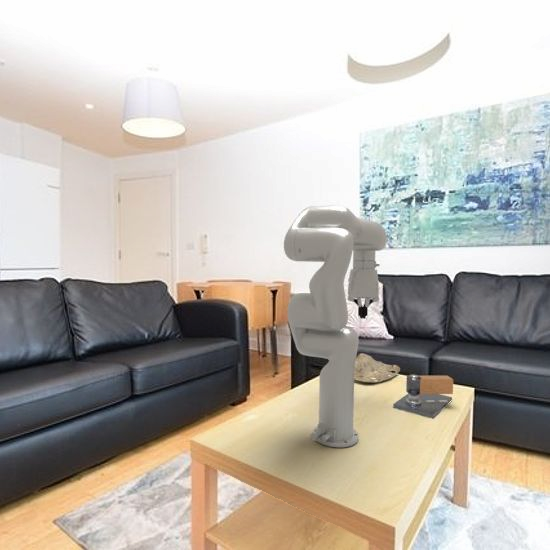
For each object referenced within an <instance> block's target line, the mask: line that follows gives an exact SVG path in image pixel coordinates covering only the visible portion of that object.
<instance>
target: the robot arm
mask: <svg viewBox="0 0 550 550" xmlns="http://www.w3.org/2000/svg"><path fill="white" fill-rule="evenodd" d="M387 239H388V237H387V232H386V230H385V228H384V226H383V225H382V224H381V223H379V222H377V221H374V220H369V219H365V218H361V217H357V216H356V215H355V214H354V213H353V212H352V211H351V210H350V209H349V208H347V207H346V206H344V205H338V204H337V205H336V204H335V205H334V204H332V205H313V206H308V207H306V208H304V209H303V210H302V211H301V212H300V213H299V214H298V216H297V217H296V218H295V219H294V221H293V222H292V224H291V226H290V227H289V229H288V230H287V232H286V234H285V236H284V240H283V251H284V254H285V255H286V257H287V258H288V259H289V260H291V261H293V262H312V263H314V262H315V263H316V262H317V263H319V262H320V263H323V264H322V266H321V267H320V268H318V270H316V272H315V273H314V274H313V275H312V277H311V279H310V280H309V283H308V288H309V292H299V293H295V294H294V295H293V296H292V297H291V298H290V300H289V302H288V305H287V320H288V324H289V325H288V326H289V328H290V331H291V335H292V338H293V341H294V342H293V343H294V344H295V348H296V350H297V351H298V353H299V354H300V355H303V356H307V357H313V358H322V359H327V360H328V362H327V363H326V365H324V366H323V367H322V369H321V370H320V373H319V380H318V381H319V387H318V388H319V390H318V391H319V394H318V395H319V397H318V399H319V400H318V423H317V426H315V427H314V428H313V430H312V433H311V434H310V436H309V437H310V439H311V441H313V442H315V441H316V442H318V443H319V444H321V445H323V446H326V447H331V448H337V449H338V448H339V449H340V448H349V447H351V446H354V445H356V444H357V443H358V442H359V439H360V438H359V437H360V436H359V433H358V432H357V430H356V429H355V428H354V406H355V405H354V402H355V401H354V400H355V399H354V398H355V379H354V371H355V361H356V357H357V356H358V355H357V354H358V348H359V339H360V338H359V334H358V332H357V331H356V330H355V329H354V328H353V327H350V326H348V325H347V324H348V321H349V311H348V304H347V300H348V301H349V302H352V303H355V304H356V305H357V306H358V308H357V309H358V310H357V312H358V314H357V315H358V317H359V318H360V319H361V320H362V319H364V320H365V319H367V318H366V317H368V311H369V310H368V307H370V306H371V304H372V303H377V302H379V301H380V297H379V294H380V287H379V284H380V283H379V276H378V275H379V274H378V269H376V268H377V267H380V262H378V261H376V252H379V251H380V252H381V251H382V250H384V249H385V247H386V245H387V243H388V242H387V241H388V240H387ZM351 260H352V268H351V269H349V266H350V263H351ZM349 270H350V271H349ZM348 271H349V275H348V276H349V277H348V284H347V285H348V286H347V293H348V295H347V298H346V292H345V279H346V275H347V272H348ZM362 299H364V303H363V305H362Z"/></svg>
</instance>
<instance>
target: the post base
mask: <svg viewBox="0 0 550 550" xmlns="http://www.w3.org/2000/svg"><path fill="white" fill-rule="evenodd" d="M451 400H452V401H453V397H452V396H448V395H446V394H418V395H415V394H410V393H407V394H405V395H404V396H403V397H401V398H400V399H399V400H397V401H396V402H394V403H393V405H392V408H393V409H397V410H400V411H401V410H402V411H405V412H407V413H411V414H415V415H419V416H422V417H426V418H430V419H435V417H436V416H437V415H438V414H439V413H441V412H442V411H443V410H444V409H445V408H446V407H447V406H448V405H449V404H450V403H451V402H452V401H451ZM450 401H451V402H450ZM449 402H450V403H449ZM448 403H449V404H448ZM447 404H448V405H447ZM446 405H447V406H446ZM445 406H446V407H445ZM444 407H445V408H444ZM443 408H444V409H443ZM442 409H443V410H442ZM441 410H442V411H441Z"/></svg>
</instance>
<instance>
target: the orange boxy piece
mask: <svg viewBox="0 0 550 550" xmlns="http://www.w3.org/2000/svg"><path fill="white" fill-rule="evenodd" d="M405 384H406V386H405V387H406V388H405V389H406V390H405V391H406V393H407V394H408V393H410V394H415V395H418V394H441V395H453V392H454V391H453V390H454V378H452V377H450V376H449V375H417V374H409V375H406V383H405Z"/></svg>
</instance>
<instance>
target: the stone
mask: <svg viewBox="0 0 550 550" xmlns="http://www.w3.org/2000/svg"><path fill="white" fill-rule="evenodd" d="M392 371H393V373H392ZM400 371H401V368H400V366H398V365H397V364H386V363H384V362H382V361H379V360H378V361H377V360H375V358H373V357H372V356H371V355H369V354H366V353H365V352H364V353H363V352H362V353H360V354H358V355H357V356H356V361H355V371H354V380H355V381H356V380H357V381H359V382H364V383H371V384H374V383H380V382H383V381H386V380H389V379H392V378H395V376H397V375H398V373H399V372H400ZM389 375H390V376H389ZM373 378H374V379H373Z"/></svg>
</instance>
